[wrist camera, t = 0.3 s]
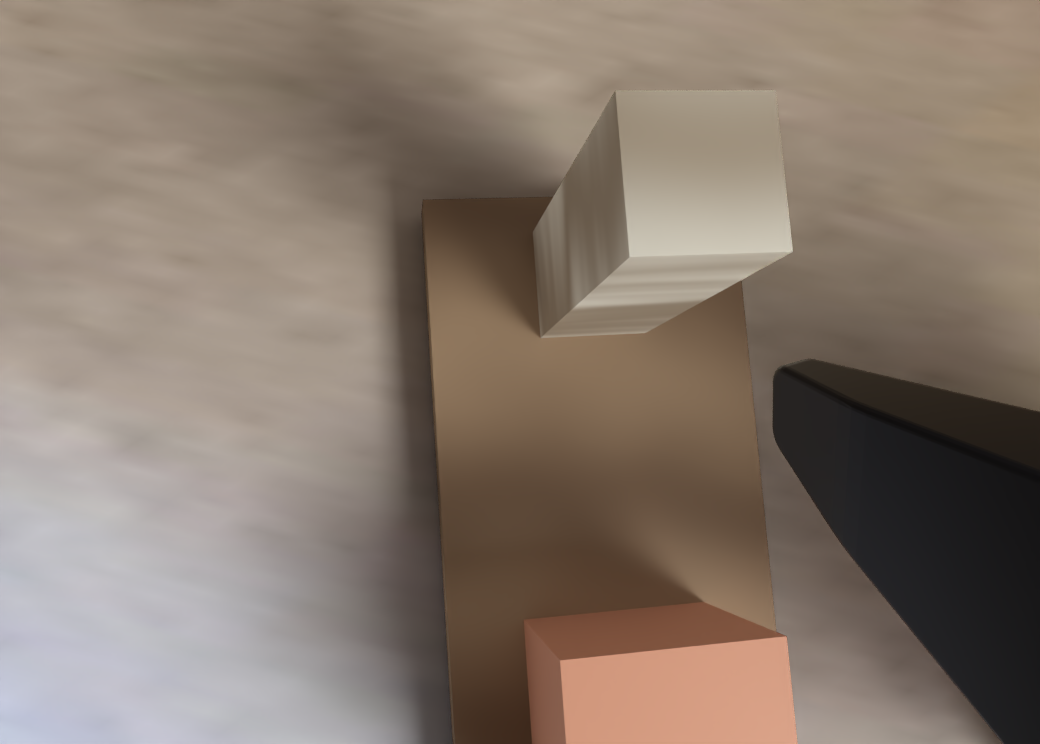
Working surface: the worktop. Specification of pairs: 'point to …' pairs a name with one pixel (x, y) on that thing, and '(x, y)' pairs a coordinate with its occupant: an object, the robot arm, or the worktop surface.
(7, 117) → the worktop surface
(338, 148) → the worktop surface
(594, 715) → the cube
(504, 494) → the wooden base with post
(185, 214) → the worktop surface
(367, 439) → the worktop surface
